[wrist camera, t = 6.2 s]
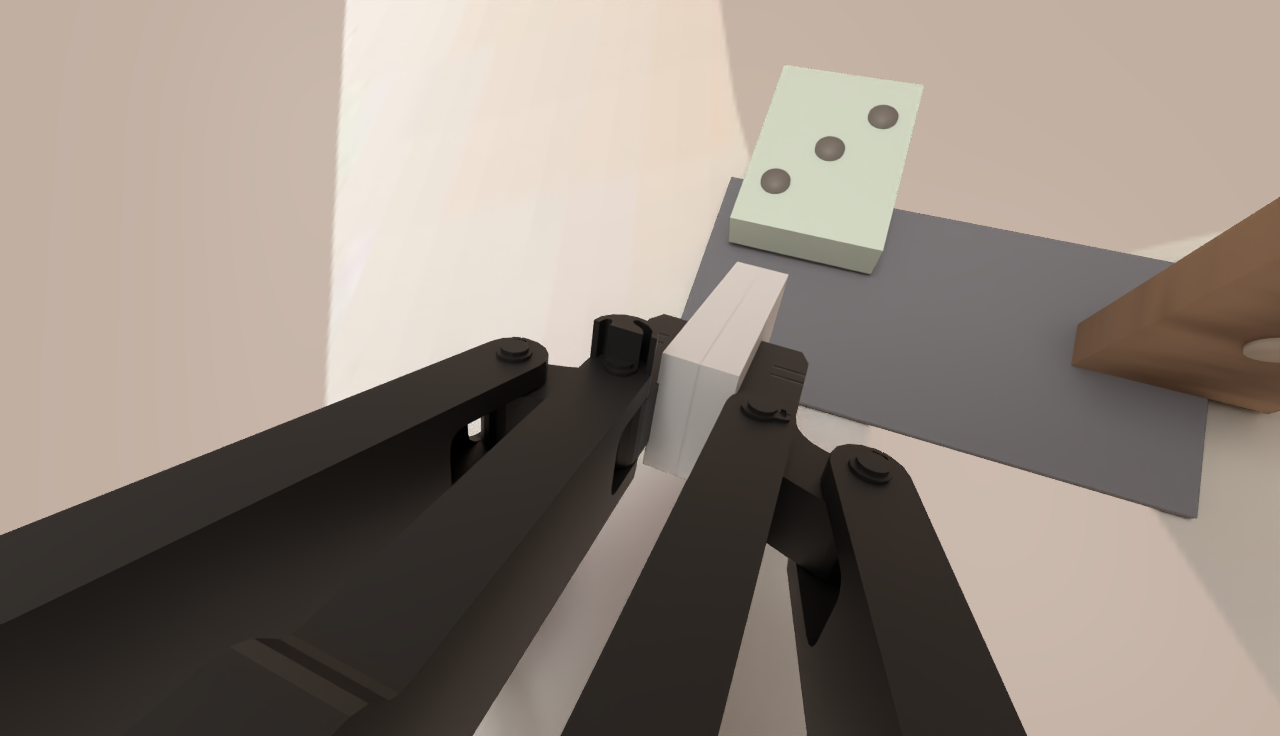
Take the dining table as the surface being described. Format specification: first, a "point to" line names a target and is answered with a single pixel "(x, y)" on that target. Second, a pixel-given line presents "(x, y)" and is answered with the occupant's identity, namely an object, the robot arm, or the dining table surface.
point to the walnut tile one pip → (1200, 321)
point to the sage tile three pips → (827, 168)
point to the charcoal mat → (980, 352)
